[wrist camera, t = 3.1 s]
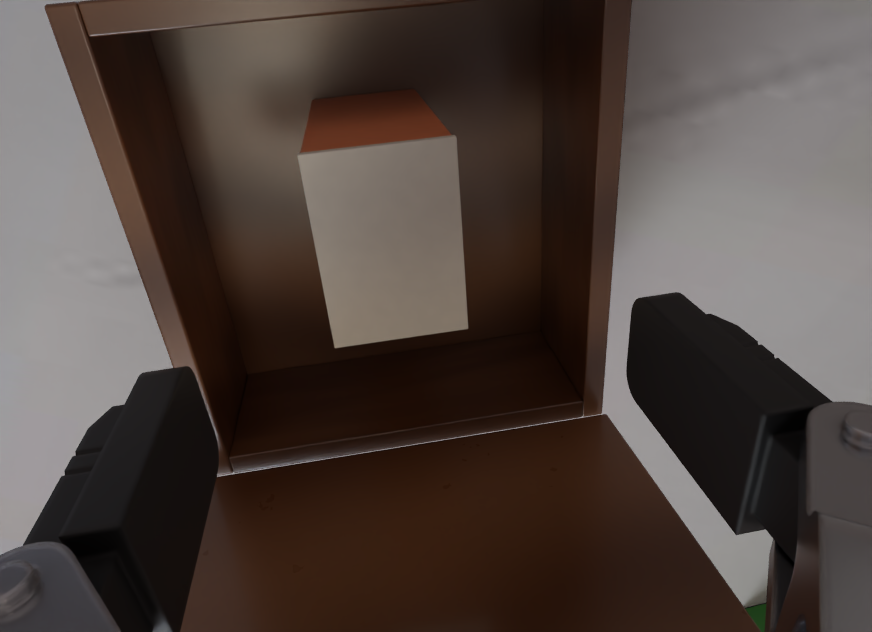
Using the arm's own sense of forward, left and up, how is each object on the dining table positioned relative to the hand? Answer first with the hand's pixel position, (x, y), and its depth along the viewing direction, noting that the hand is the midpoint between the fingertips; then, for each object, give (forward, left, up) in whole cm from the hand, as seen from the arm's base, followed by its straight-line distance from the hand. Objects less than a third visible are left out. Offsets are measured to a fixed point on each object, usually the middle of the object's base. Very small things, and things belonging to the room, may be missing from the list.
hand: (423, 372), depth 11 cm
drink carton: (0, 0, -14) cm, 14 cm away
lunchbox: (+1, +1, -15) cm, 15 cm away
